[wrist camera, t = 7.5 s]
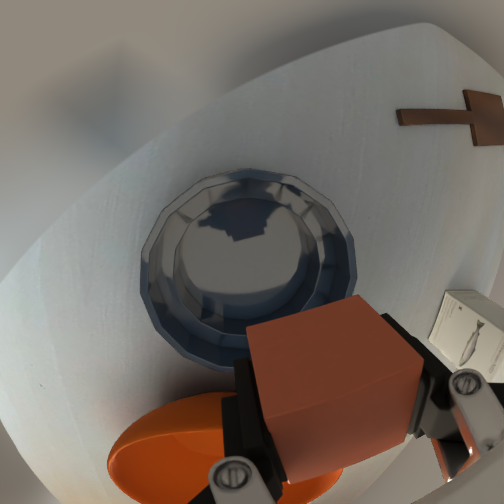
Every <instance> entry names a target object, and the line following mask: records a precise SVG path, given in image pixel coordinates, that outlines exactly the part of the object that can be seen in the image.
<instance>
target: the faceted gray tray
mask: <svg viewBox="0 0 504 504" xmlns="http://www.w3.org/2000/svg"><path fill="white" fill-rule="evenodd" d="M356 281H357V268H356V257H355V248H354V239H353V237H352V235H351V233H350V231H349V229H348V228H347V226H346V224H345V222H344V221H343V219H342V217H341V216H340V214H339V212H338V210H337V209H336V207H335V205H334V204H333V203H332V202H331V201H330V200H329V199H327V198H326V197H325V196H323V195H322V194H320V193H319V192H318V191H316V190H315V189H313V188H312V187H310V186H309V185H307V184H306V183H305V182H303V181H302V180H300V179H299V178H297V177H295V176H290V175H285V174H279V173H274V172H268V171H263V170H257V169H251V168H243V169H237V170H233V171H229V172H225V173H221V174H217V175H213V176H209V177H205V178H203V179H202V180H200V181H199V182H197V183H196V184H195V185H193V186H192V187H191V188H189V189H188V190H187V191H185V192H184V193H183V194H182V195H180V196H179V197H178V198H177V199H175V200H174V201H173V202H172V203H170V204H169V205H168V206H167V207H165V208H164V209H163V210H162V211H161V213H160V215H159V217H158V219H157V221H156V223H155V225H154V226H153V228H152V230H151V232H150V234H149V236H148V238H147V240H146V242H145V244H144V246H143V248H142V251H141V269H140V294H141V297H142V299H143V302H144V304H145V307H146V309H147V311H148V314H149V316H150V319H151V321H152V323H153V326H154V328H155V329H156V331H157V332H158V333H159V334H160V335H161V336H162V337H163V338H164V339H165V340H166V341H167V342H168V343H169V344H170V345H171V346H172V347H173V348H174V349H175V350H176V351H177V352H179V353H180V354H181V355H182V356H183V357H185V358H187V359H189V360H192V361H194V362H196V363H199V364H201V365H203V366H206V367H208V368H210V369H213V370H215V371H218V372H230V373H234V364H233V360H236V359H240V358H244V357H248V358H249V360H252V357H251V352H250V347H249V342H248V337H247V332H246V327H248V326H252V325H256V324H260V323H264V322H267V321H271V320H275V319H278V318H282V317H286V316H289V315H293V314H296V313H299V312H303V311H306V310H310V309H313V308H316V307H320V306H323V305H326V304H329V303H332V302H336V301H339V300H342V299H345V298H348V297H351V296H352V294H353V291H354V287H355V284H356Z"/></svg>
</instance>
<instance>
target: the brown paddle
mask: <svg viewBox="0 0 504 504" xmlns="http://www.w3.org/2000/svg"><path fill="white" fill-rule="evenodd" d="M463 93H464V97H465V101H466V106H467V110H468V111H464V110H446V109H399V110H397V115H398V120H399V124H400V126H402V125H423V124H470V125H471V131H472V137H473V144H474V146H491V145H504V108H503V103H502V99H501V96H499V95H494V94H489V93H484V92H479V91H473V90H463Z"/></svg>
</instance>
